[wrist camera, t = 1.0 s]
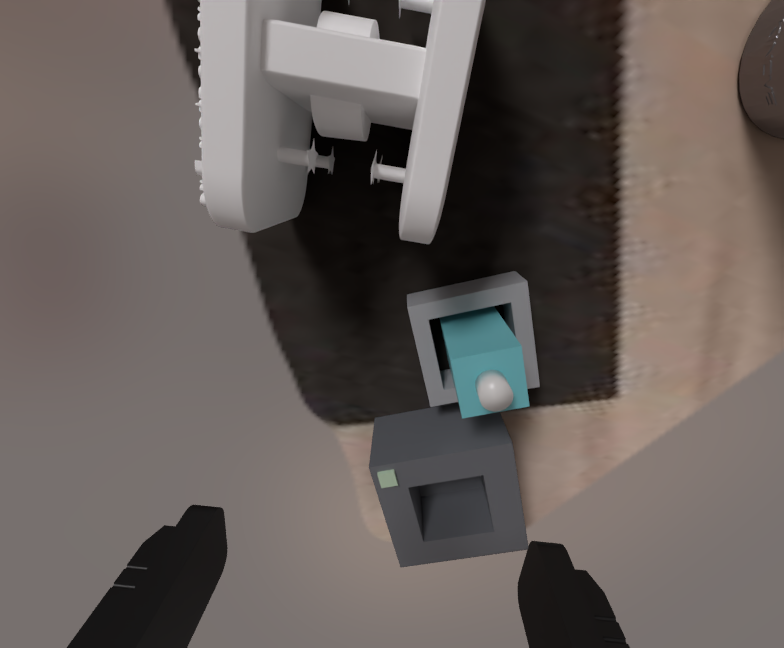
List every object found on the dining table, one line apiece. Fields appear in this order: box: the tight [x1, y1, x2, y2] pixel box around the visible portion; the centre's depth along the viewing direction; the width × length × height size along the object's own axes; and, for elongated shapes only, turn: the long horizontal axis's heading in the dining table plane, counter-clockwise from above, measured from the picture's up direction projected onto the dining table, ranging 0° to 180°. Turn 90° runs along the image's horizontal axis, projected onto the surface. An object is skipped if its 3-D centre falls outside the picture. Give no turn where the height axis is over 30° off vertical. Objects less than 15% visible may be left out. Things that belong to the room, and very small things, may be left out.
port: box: [369, 403, 528, 567], centre depth 31 cm, size 10×10×6 cm
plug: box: [439, 306, 529, 419], centre depth 25 cm, size 4×4×10 cm
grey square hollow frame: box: [407, 271, 540, 407], centre depth 28 cm, size 8×8×3 cm
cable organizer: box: [195, 0, 486, 244], centre depth 19 cm, size 15×11×12 cm
